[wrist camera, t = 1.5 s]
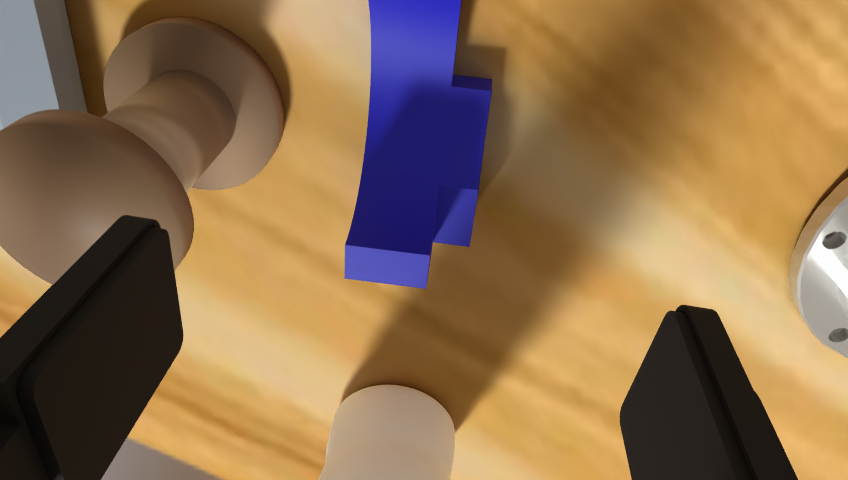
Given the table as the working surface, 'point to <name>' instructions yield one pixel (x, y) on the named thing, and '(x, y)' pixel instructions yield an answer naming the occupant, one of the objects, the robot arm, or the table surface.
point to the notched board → (37, 60)
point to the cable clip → (416, 144)
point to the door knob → (139, 144)
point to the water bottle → (390, 437)
